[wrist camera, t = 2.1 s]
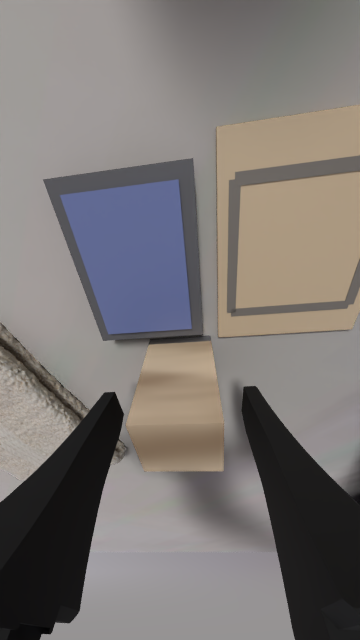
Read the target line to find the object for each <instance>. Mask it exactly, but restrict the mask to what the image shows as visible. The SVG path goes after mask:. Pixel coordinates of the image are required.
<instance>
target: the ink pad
mask: <svg viewBox="0 0 360 640" xmlns="http://www.w3.org/2000/svg"><path fill="white" fill-rule="evenodd" d="M43 181H44V183H45V186H46V189H47V192H48V194H49V197H50V200H51V202H52V205H53V208H54V210H55V213H56V216H57V218H58V221H59V224H60V226H61V229H62V232H63V234H64V237H65V240H66V242H67V245H68V248H69V250H70V253H71V256H72V258H73V261H74V264H75V267H76V269H77V272H78V275H79V277H80V280H81V283H82V285H83V288H84V291H85V293H86V296H87V299H88V301H89V304H90V307H91V309H92V312H93V315H94V317H95V320H96V323H97V325H98V328H99V331H100V333H101V336H102V339H103V341H107V340H123V339H139V338H155V337H171V336H187V335H203V326H202V308H201V290H200V273H199V255H198V237H197V219H196V201H195V184H194V166H193V158H192V159H185V160H178V161H170V162H163V163H156V164H149V165H142V166H135V167H128V168H121V169H114V170H107V171H100V172H93V173H86V174H79V175H72V176H65V177H58V178H51V179H44V180H43Z"/></svg>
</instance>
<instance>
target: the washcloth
mask: <svg viewBox="0 0 360 640" xmlns="http://www.w3.org/2000/svg"><path fill="white" fill-rule="evenodd" d="M89 411H90V410H89V409H86V408H85V406H84V405H83V404H82V402H80V401H78V400H77V399H76V398H75V396H73V395H71V393H70V392H69V391H68V390H67V389H66V388H64V387H62V385H61V384H60V383H59V382H58V381H57V380H56V378H55V377H54V376H52V375H50V374H49V373H48V372H47V370H45V369H44V368H43V367H42V366H41V364H40V362H38V361H37V360H36V359H35V358H34V357H33V355H32V354H31V353H29V352H28V351H27V350H26V349H25V348H24V347H23V346H22V345H21V344H20V342H18V341H17V340H16V339H15V338H14V337H13V335H12V334H11V333H10V332H9V331H7V330H6V329H5V327H4V326H3V325H2V324H1V323H0V469H1V470H3V471H5V472H7V473H8V474H10V475H12V476H14V477H15V478H16V479H18V480H20V481H25V480H26V479H27V478H28V477H29V476H30V475H32V474H33V473H34V472H35V471H36V470H37V469H38V468H39V467H40V466H41V465H42V464H43V463H44V462H45V461H46V460H47V459H48V458H49V457H50V456H51V455H52V454H53V453H54V452H55V450H56V449H57V448H58V447H59V446H60V445H61V444H62V443H63V442H64V441H65V439H66V438H67V437H68V436H69V435H70V434H71V433H72V432H73V430H74V429H75V428H76V427H77V426H78V425H79V423H80V422H81V421H82V420H83V419H84V417H85V416H86V415H87V414H88V412H89ZM124 446H125V445H123V442H120V441H119V440H118V442H117V445H116V448H115V452H114V455H113V458H112V461H111V464H110V465H112V464H116V463H119V462H120V461H121V460H122V459H123V457H124V455H125V451H126V449H127V448H125V447H124Z"/></svg>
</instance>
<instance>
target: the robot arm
mask: <svg viewBox="0 0 360 640" xmlns="http://www.w3.org/2000/svg"><path fill="white" fill-rule="evenodd" d="M242 415H243V420H244V424H245V429H246V433H247V436H248V439H249V443H250V446H251V449H252V452H253V456H254V459H255V462H256V465H257V469H258V472H259V475H260V478H261V482H262V486H263V489H264V494H265V498H266V502H267V507H268V511H269V515H270V520H271V525H272V529H273V534H274V538H275V543H276V548H277V553H278V557H279V562H280V567H281V572H282V576H283V582H284V587H285V592H286V597H287V603H288V607H289V613H290V618H291V624H292V629H293V633H294V637H295V640H360V505H359V504H358V503H357V502H356V501H355V500H354V499H353V498H352V497H351V496H350V495H349V494H348V493H347V492H345V491H344V490H343V489H342V488H341V487H340V486H339V485H338V484H337V483H336V482H335V481H334V480H333V479H332V478H331V477H330V476H329V475H328V474H327V473H326V472H325V471H324V470H323V469H322V468H321V467H320V466H319V465H318V464H317V462H316V461H315V460H314V459H313V458H312V457H311V456H310V455H309V454H308V453H307V452H306V451H305V449H304V448H303V447H302V446H301V445H300V444H299V443H298V441H297V440H296V439H295V438H294V437H293V436H292V434H291V433H290V432H289V431H288V429H287V428H286V427H285V426H284V424H283V423H282V422H281V421H280V419H279V418H278V417H277V415H276V414H275V413H274V411H273V410H272V409H271V407H270V406H269V404H268V403H267V402H266V400H265V399H264V397H263V396H262V394H261V393H260V391H259V390H258V388H257V387H256V386H247V387H244V389H243V401H242ZM123 416H124V413H123V411H122V409H121V406H120V404H119V401H118V399H117V396H116V394H115V392H106V393H104V394H103V395H102V396H101V398H100V399H99V400H98V401H97V402H96V404H95V405H94V406H93V407H92V409H91V410H90V411H89V412H88V414H87V415H86V416H85V417H84V419H83V420H82V421H81V422H80V423H79V425H78V426H77V427H76V428H75V429H74V430H73V432H72V433H71V434H70V435H69V436H68V437H67V438H66V439H65V441H64V442H63V443H62V444H61V445H60V446H59V447H58V448H57V449H56V450H55V452H54V453H53V454H52V455H51V456H50V457H49V458H48V459H47V460H46V461H45V462H44V463H43V464H42V465H41V466H40V467H39V468H38V469H37V470H36V471H35V472H34V473H33V474H32V475H30V476H29V477H28V478H27V479H26V480H25V481H24V482H23V483H22V484H21V485H20V486H19V487H17V488H16V489H15V490H14V491H13V492H12V493H11V494H10V495H9V496H7V497H6V498H5V499H4V500H3V501H2V502H0V640H40V637H41V634H51V633H52V631H53V627H54V624H55V622H57V623H70V622H71V621H72V620H73V619H74V618H75V617H76V615H77V614H78V612H79V611H80V604H81V598H82V591H83V586H84V580H85V574H86V568H87V562H88V557H89V552H90V547H91V542H92V536H93V532H94V527H95V522H96V517H97V513H98V508H99V504H100V500H101V495H102V491H103V487H104V484H105V480H106V477H107V474H108V470H109V467H110V464H111V461H112V458H113V455H114V452H115V448H116V445H117V442H118V439H119V435H120V432H121V427H122V422H123Z"/></svg>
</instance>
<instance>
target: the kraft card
mask: <svg viewBox="0 0 360 640" xmlns="http://www.w3.org/2000/svg"><path fill="white" fill-rule="evenodd" d="M216 170H217V276H218V337H234V336H250V335H267V334H283V333H300V332H316V331H333V330H349V329H352V328H353V326H354V323H355V321H356V318H357V316H358V313H359V311H360V105H354V106H348V107H341V108H335V109H328V110H322V111H315V112H309V113H303V114H296V115H290V116H283V117H277V118H270V119H264V120H257V121H251V122H244V123H238V124H231V125H225V126H219V127H216Z"/></svg>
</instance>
